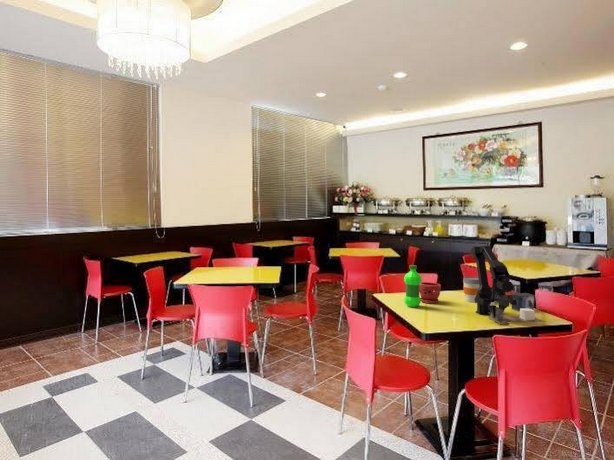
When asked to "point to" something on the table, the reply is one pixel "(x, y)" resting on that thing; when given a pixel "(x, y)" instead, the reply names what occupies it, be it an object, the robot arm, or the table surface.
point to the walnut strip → (508, 318)
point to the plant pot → (429, 292)
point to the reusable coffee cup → (470, 288)
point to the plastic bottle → (412, 287)
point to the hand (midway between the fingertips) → (497, 317)
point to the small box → (523, 301)
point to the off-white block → (527, 314)
